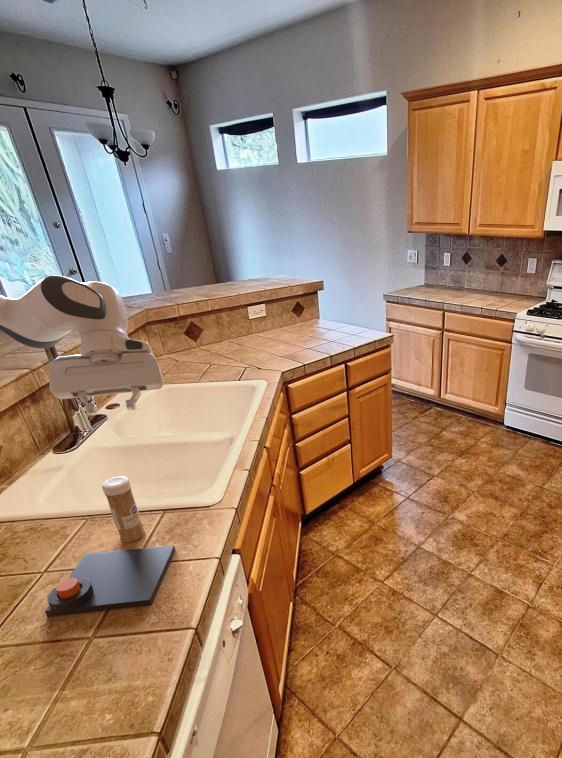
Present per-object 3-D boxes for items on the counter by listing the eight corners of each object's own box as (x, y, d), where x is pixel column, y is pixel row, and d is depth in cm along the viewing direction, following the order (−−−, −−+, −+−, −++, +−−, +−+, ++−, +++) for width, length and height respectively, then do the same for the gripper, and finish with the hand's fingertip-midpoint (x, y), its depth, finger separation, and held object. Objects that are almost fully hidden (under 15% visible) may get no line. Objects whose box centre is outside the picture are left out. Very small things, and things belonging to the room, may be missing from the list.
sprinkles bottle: (141, 541, 88) (124, 486, 82) (117, 544, 87) (97, 489, 81) (148, 527, 92) (131, 474, 86) (124, 530, 91) (106, 476, 85)
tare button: (55, 600, 71) (51, 592, 70) (64, 586, 73) (61, 578, 72) (75, 598, 71) (72, 590, 70) (84, 584, 74) (81, 576, 73)
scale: (45, 619, 70) (39, 606, 69) (87, 559, 83) (82, 546, 82) (150, 607, 73) (146, 594, 71) (175, 550, 85) (172, 538, 84)
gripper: (41, 349, 86) (44, 411, 83) (155, 341, 93) (162, 398, 90) (55, 364, 92) (58, 423, 88) (161, 356, 99) (168, 410, 95)
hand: (111, 411), depth 89 cm, fingers open, 6 cm apart
